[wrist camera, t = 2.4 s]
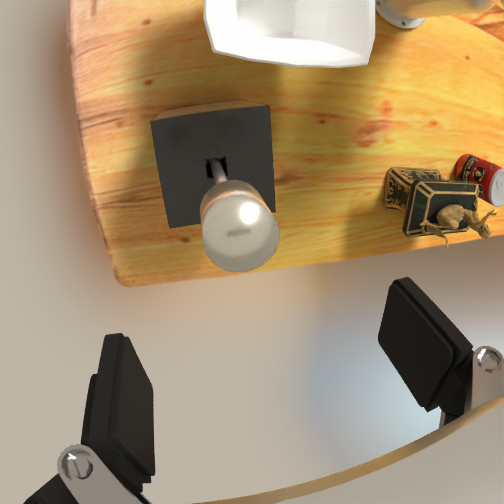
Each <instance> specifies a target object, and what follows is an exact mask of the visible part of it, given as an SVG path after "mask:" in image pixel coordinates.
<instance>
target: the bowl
mask: <svg viewBox="0 0 504 504" xmlns="http://www.w3.org/2000/svg"><path fill="white" fill-rule="evenodd" d="M204 23H205V26H206V30H207V34H208V37H209V41H210V44H211V48H212V51H213V52H214V53H217V54H221V55H226V56H230V57H235V58H239V59H243V60H247V61H253V62H262V63H270V64H277V65H284V66H291V67H320V68H344V67H353V66H364V65H367V64H368V61H369V58H370V54H371V51H372V47H373V43H374V40H375V0H204Z"/></svg>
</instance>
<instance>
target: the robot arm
mask: <svg viewBox="0 0 504 504" xmlns="http://www.w3.org/2000/svg"><path fill="white" fill-rule="evenodd" d="M496 1H497V0H375V10H376V11H377V13H378V14H379V15H380V16H381V17H382V18H383V19H384V20H386V21H387V22H389V23H390V24H392V25H394V26H396V27H399V28H405V29H409V28H415V27H418V26H419V25H421V24H422V23H423V22H424V20H425V18H427V17H436V16H446V15H459V14H479V13H484V12H486V11H488V10H490V9H491V8H492V7H493V6H494V4H495V3H496ZM500 1H501V3H502V5H503V7H504V0H500ZM378 342H379V344H380V346H381V347H382V349H383V350H384V352H385V353H386V355H387V356H388V357H389V359H390V361H391V362H392V364H393V365H394V367H395V368H396V370H397V371H398V373H399V374H400V376H401V377H402V379H403V381H404V382H405V384H406V385H407V387H408V388H409V390H410V391H411V393H412V395H413V396H414V398H415V399H416V401H417V402H418V404H419V405H420V406H421V407H424V408H425V410H426V411H427V412H429V411H431V410H433V409H435V408H437V407H438V406H439V407H440V408H441V410H442V412H441V418H440V424H439V429H437V430H435V431H433V432H431V433H430V434H428V435H426V436H424V437H422V438H420V439H418V440H416V441H414V442H412V443H410V444H408V445H405V446H403V447H401V448H399V449H397V450H395V451H392V452H390V453H388V454H385V455H383V456H381V457H378V458H376V459H373V460H371V461H368V462H366V463H363V464H361V465H358V466H355V467H352V468H350V469H347V470H344V471H341V472H339V473H335V474H332V475H329V476H326V477H323V478H320V479H316V480H313V481H309V482H306V483H302V484H298V485H295V486H291V487H287V488H283V489H279V490H274V491H270V492H265V493H260V494H255V495H250V496H244V497H238V498H232V499H226V500H218V501H211V502H203V503H194V504H504V358H503V356H502V354H501V353H500V352H499V351H497V350H496V349H494V348H492V347H489V346H482V347H479V348H477V349H476V350H475V352H474V351H473V350H472V348H473V345H472V344H471V343H470V342H469V341H468V340H467V339H466V337H465V336H464V335H463V334H462V333H461V332H460V331H459V329H458V328H457V327H456V326H455V325H454V324H453V323H452V322H451V321H450V320H449V319H448V317H447V316H446V315H445V314H444V313H443V312H442V311H441V310H440V309H439V308H438V307H437V305H436V304H435V303H434V302H433V301H431V299H430V298H429V297H428V296H427V295H426V294H425V293H424V292H423V291H422V290H421V289H420V288H419V287H418V286H417V285H416V284H415V283H414V282H413V281H412V280H411V279H410V278H409V277H405V278H401V279H397V280H394V281H393V283H392V285H391V286H390V287H389V291H388V296H387V300H386V305H385V309H384V313H383V318H382V322H381V326H380V330H379V334H378ZM57 466H58V472H59V473H58V474H57V475H55V476H54V477H53V478H52V479H51V480H50V481H48V482H47V483H46V484H45V485H44V486H42V487H41V488H40V489H39V490H38V491H36V492H35V493H34V494H33V495H32V496H30V497H29V498H28V499H27V500H26V501H25V502H24V503H23V504H152V503H151V502H150V501H149V500H148V499H147V498H146V497H145V496H144V495H143V494H142V493H141V492H142V491H143V486H142V483H151V476H154V475H155V455H154V419H153V388H152V385H151V382H150V380H149V378H148V376H147V374H146V372H145V370H144V368H143V366H142V364H141V362H140V360H139V358H138V356H137V354H136V352H135V350H134V347H133V345H132V343H131V341H130V339H129V337H124V335H123V334H122V333H117V334H109V335H106V336H105V338H104V342H103V347H102V352H101V357H100V362H99V368H98V373H97V374H93V375H92V376H91V379H90V384H89V389H88V395H87V401H86V408H85V415H84V421H83V428H82V437H81V445H79V444H77V445H71V446H70V447H68V448H66V449H65V450H64V451H63V452H62V453H61V455H60V456H59V458H58V463H57Z"/></svg>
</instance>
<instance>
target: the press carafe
mask: <svg viewBox="0 0 504 504" xmlns="http://www.w3.org/2000/svg"><path fill="white" fill-rule="evenodd" d="M151 128H152V135H153V141H154V147H155V154H156V160H157V165H158V171H159V177H160V182H161V188H162V193H163V198H164V203H165V208H166V213H167V218H168V223H169V228H176V227H182V226H188V225H194V224H200V223H201V218H200V205H201V202H202V199H203V197H204V195H205V194H206V193H207V192H208V190H209V189H210V188H212V187H213V186H214V185H216V183H215V180H214V176H207V172H206V164H205V159H210V158H217V157H224V156H225V161H226V170H227V173H226V174H225V175H226V178H227V180H239V181H243V182H246V183H248V184H250V185H251V186H253V187H254V188H255V189H256V190H257V191H258V193H259V194H260V196H261V198H262V199H263V201H264V202H265V204H266V205H267V207H268V208H269V210H270V211H271V213H272V212H276V209H275V189H274V170H273V153H272V137H271V121H270V106H269V105H265V104H260V103H256V102H251V101H246V100H234V101H224V102H216V103H208V104H200V105H193V106H186V107H180V108H174V109H168V110H164V111H162V112H161V113H160V114H158V115H157V116H156V117H155V118H154V119H152V120H151Z"/></svg>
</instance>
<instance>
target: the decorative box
mask: <svg viewBox="0 0 504 504" xmlns="http://www.w3.org/2000/svg"><path fill="white" fill-rule="evenodd" d="M478 194H479V186H478V184H477V183H475V182H465V181H453V180H449V181H448V180H445V179H444V178H443V177H442V175H441V173H440V172H439V170H436V169H421V168H402V167H392V168H391V169H390V170H389V171H388V174H387V182H386V189H385V195H384V202H383V206H384V208H385V209H386V210H397V211H401V212H402V213H403V214H404V222H403V229H402V230H403V232H404V234H405V235H406V236H407V237H417V236H427V235H436V236H439V237H443V238H445V240H446V246H447V249H448V240H447V238H446V237H445V236H444V234H447V233H457V232H466V231H467V230H468V229H469V228H472V229H473V230H475V231H477V232H478V233H479V235H480V236H481V237H482V238H488V237H489V236H490V234H491V233H492V231H490V228H489V227H488V225H487V224H484V223H485V221H486V220H487V218H488V216H489V215H496V214H497V213H492V212H493V211H494V210H493V211H491V212H489V213H487V215H486V216H485V217H484V218H483V219H482V220H481V221H479V219H478V213H477V212H476V211H477V206H478V199H477V198H478ZM483 224H484V225H483Z"/></svg>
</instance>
